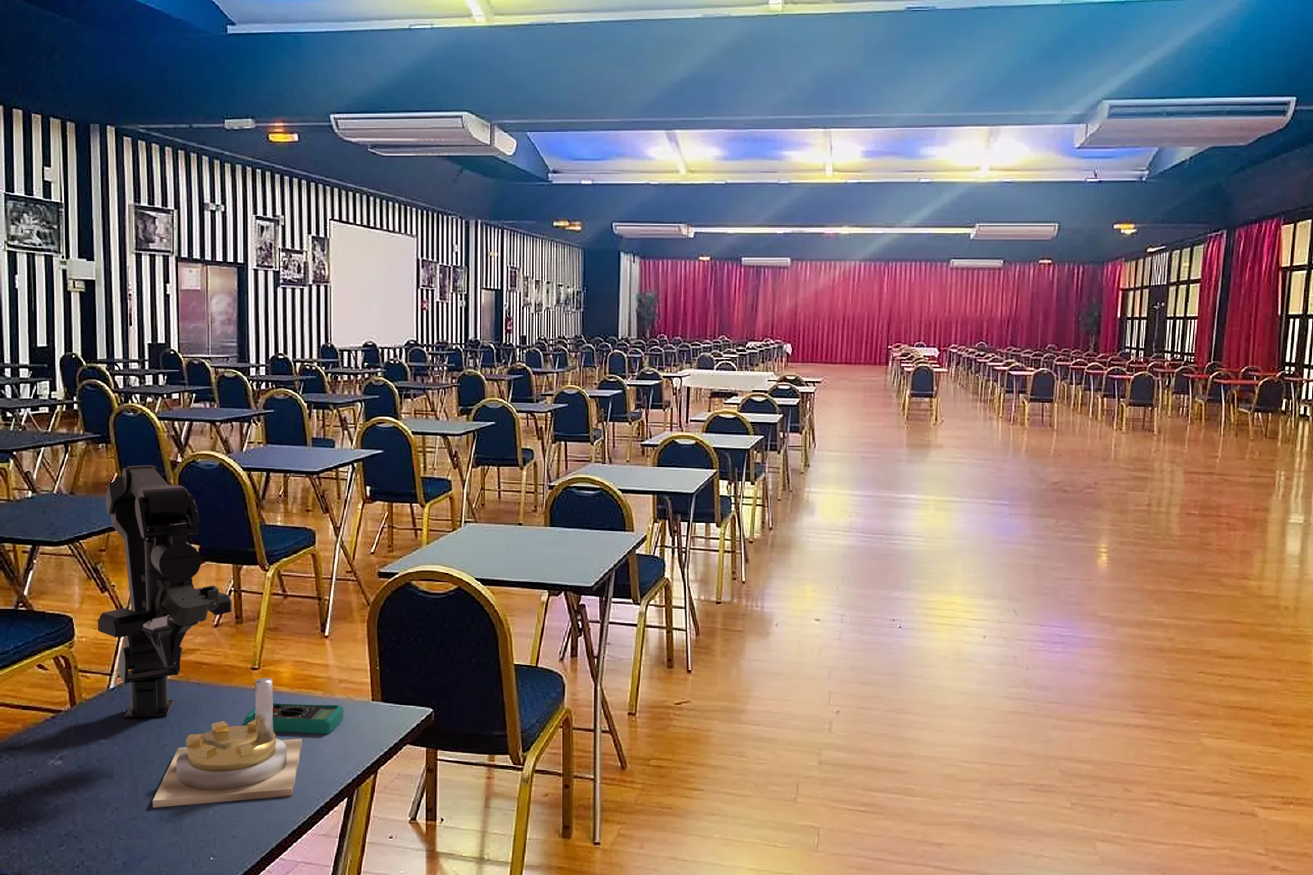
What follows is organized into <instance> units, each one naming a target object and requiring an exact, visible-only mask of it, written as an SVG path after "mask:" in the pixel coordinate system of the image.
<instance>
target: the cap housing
mask: <svg viewBox="0 0 1313 875" xmlns="http://www.w3.org/2000/svg"><path fill="white" fill-rule="evenodd" d="M187 747H188V746H184V747H178V748H177V750H176V752H175V754H174V756H173V758H172V759H171V763H170V764H169V767H168V768H167V770H166V773H165V775H164V776H163V779H162V781H161V783H160V785H159V787H158V789H157V791H156V793H155V795H154V797H153V799H152V808H162V807H163V808H164V807H174V806H175V807H176V806H186V805H187V806H188V805H198V804H208V803H210V804H211V803H221V802H235V801H245V800H256V799H257V800H258V799H266V798H267V799H268V798H277V797H278V798H279V797H290V796H293V792H294V786H295V783H296V782H295V781H296V777H297V773H298V772H297V771H298V768H299V762H300V757H301V753H302V747H303V739H302V738H294V739H279V738H276V752H275V754H274V755H273V756H272V757H271V758H270V759H268V760H267V761H265V762H263V763H261V764H258V765H256V766H253V767H250V768H246V769H241V770H236V771H228V772H208V771H202V770H198V769H195V768H193V767H191V766H190V765H189V763H188V750H187Z"/></svg>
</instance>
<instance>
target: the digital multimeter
mask: <svg viewBox="0 0 1313 875" xmlns="http://www.w3.org/2000/svg"><path fill="white" fill-rule="evenodd" d="M255 719H256V715H255V708H253V709H252V710H250V711H249V712H248V713H247V714H246V716H245V718H244V719H243V726H248V725H247V723H249V722H251V721H253V720H255ZM343 719H344V707H343V706H341V705H339V704H335V705H334V704H326V705H325V704H293V703H292V704H291V703H276V702H275V703H274V702H273V732H274V733H275V732H276V733H297V734H298V733H299V734H301V733H302V734H303V733H304V734H317V735H319V734H320V735H329V734H330V733H332V731H334V730H335V729H336V728H337V727H338V726H339V725H340V724H341V723H342V720H343Z"/></svg>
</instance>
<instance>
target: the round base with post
mask: <svg viewBox="0 0 1313 875" xmlns="http://www.w3.org/2000/svg"><path fill="white" fill-rule="evenodd" d="M273 691H274V690H273V678H270V677H263V678H257V679H256V680H254V695H255V696H254V697H255V699H254V701H255V702H254V703H255V704H254V705H255V715H256V719H255V720H253V721H251V722H249V723H247V725H248V726H244V725H232V726H229V724H228V723H227V722H226V721H225V720H221V721H217V722H212V723H211V730H209V731H206V732H204V733H198V734H196V733H195V734H193V733H192V734H189V735H188V736H187V738H186V739H185V741H186V742H185V743H186V744H185V745H186V746H185V747H187V750H188V763H189V765H190V766H191V767H193V768H195V769H198V770H202V771H208V772H228V771H236V770H241V769H246V768H250V767H253V766H256V765H258V764H261V763H263V762H265V761H267V760H268V759H270V758H271V757H272V756H273V755H274V754H275V752H276V736H277V735H276V733H275V732H273V703H274V701H273V698H274V697H273V696H274V693H273Z"/></svg>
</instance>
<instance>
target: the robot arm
mask: <svg viewBox="0 0 1313 875" xmlns="http://www.w3.org/2000/svg"><path fill="white" fill-rule="evenodd" d="M105 509H106V514H107V515H108V516H109V515H110V519H111V520H110V521H111V526H112V528H113V529H115V531H116V532H117V533H118V535H120V537H121V538H122V539H123V543H124V551H125V552H124V553H125V561H126V562H125V563H126V571H127V579H128V591H129V601H130V608H131V609H128V608H118V609H114V610H110V611H104V612H102V613H101V614H100V616H99V618H98V620H97V632H99V633H102V634H105V635H108V636H111V637H114V638H123V637H124V639H123V645H124V646H123V647H121V649H120V650H121V651H120V655H119V658H118V659H119V660H118V663H117V664H118V665H117V666H118V675H119V676H118V677H119V678H120V679H121V681H122V683H123V684H124V685H125V684H129V683H130V684H129V685H130V686H129V687H130V690H129V691H130V707H129V708H128V710H127V711H126V712H125V715H124V719H137V718H138V719H139V718H153V717H167V716H168V715H169V713H170V711H171V709H172V708H173V706H174V703H175V701H174V699H169V680H168V679H169V677H172V676H178V675H179V673H180V672H181V658H182V653H183V648H182V646H181V644H182V642H183V640H184V637H185V635H186V633H187V632H188V631H189V630H190V629H191V628H193V626H197V625H198V624H199V622H201V623H202V622H205V621H206V620H207V618H208V612H210V613H211V614H212V615H213V616H219V615H223V614H227V613H228V614H230V613H231V612H232V610H233V604H232V603H233V601H232V599H231V597H230V596H229V595H228V594H227V593H223V592H219V591H220V590H219V588H218V587H217V586H215V585H213V584H211V585H208V586H205V587H199V588H195V587H194V584H193V577H195V576H196V575H197V574H198V572H199V570H200V568H201V566H202V557H201V555H200V553H199V551H198V550H197V548H195V547H194V546H193V545H192V544H190V543H189V536H188V535H194V534H197V535H198V534H199V527H200V526H201V519H200V516H199V511H198V506H197V503H196V500H195V499H194V498H193V495H192V494H191V493H189V492H188V490H187V488H186V487H184V486H182V485H177V484H176V485H175V484H173V485H172V484H168V482H166V481H165V479H164V478H163V477H162V476H161V475H160V474H159V468H158V467H157V466H156V465H155V466H153V465H152V464H148V465H146V464H145V465H129V466H127V467H124V468H123V469H122V474H121V475H119V476H118V477H117V478H115V479H114V480H113V481H111V482H110V483H109V484H108V487H107V491H106V495H105Z"/></svg>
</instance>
